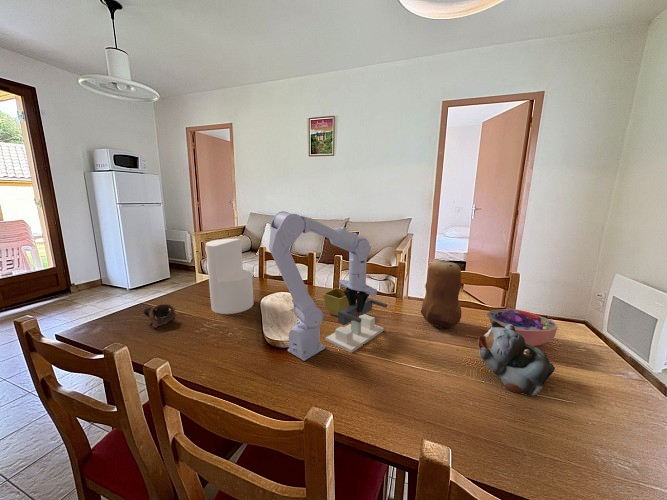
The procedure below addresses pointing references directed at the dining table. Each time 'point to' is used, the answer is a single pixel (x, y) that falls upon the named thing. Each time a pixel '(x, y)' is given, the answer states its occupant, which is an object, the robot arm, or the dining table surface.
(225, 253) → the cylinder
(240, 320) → the dining table surface
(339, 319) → the grey c-shaped bracket
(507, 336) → the lucky cat figurine
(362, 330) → the stand
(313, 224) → the robot arm
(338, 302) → the flower pot
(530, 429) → the dining table surface
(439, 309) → the butternut squash
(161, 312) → the pottery mug
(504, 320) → the cell model
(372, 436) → the dining table surface
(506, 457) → the dining table surface
